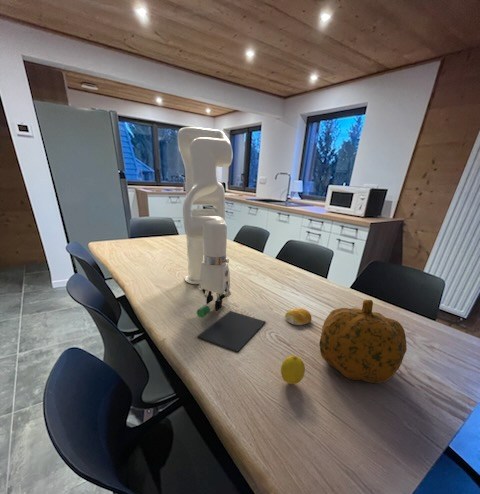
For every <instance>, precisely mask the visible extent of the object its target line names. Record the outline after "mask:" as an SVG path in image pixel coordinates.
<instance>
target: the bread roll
mask: <svg viewBox="0 0 480 494" xmlns="http://www.w3.org/2000/svg"><path fill="white" fill-rule="evenodd" d="M284 318H285V320H286V321H287V322H288V323H289V324H292V325H294V326H303V325H306V324H309V323H311V322H312V314H311V312H310V311H308V310H307V309H305V308H295V309H290V310H288V311H286V312H285V314H284Z"/></svg>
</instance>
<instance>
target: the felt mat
mask: <svg viewBox="0 0 480 494" xmlns="http://www.w3.org/2000/svg"><path fill="white" fill-rule="evenodd" d="M265 324H266V321H265V320H262V319H258V318H256V317H252V316H248V315H245V314H242V313H238V312H235V311H232V310H230V311H228V312H227V313H226V314H224V315H223V316H222V317H220V318H219V319H218V320H217V321H216V322H214V323H213V324H211V325H210V326H209V327H208V328H207V329H204V330H203V332H201V333H200V334H199V335H197V338H198V339H200V340H202V341H205V342H209V343H211V344H214V345H216V346H219V347H222V348H224V349H227V350H230V351H233V352H236V353H238V352H240V351H241V350H242V349H243V347H244V346H245V345H247V343H248V342H249V341H250V340H251V339H252V338H253V337H254V335H255V334H256V333H258V331H259V330H260V329H262V327H263V326H264V325H265Z"/></svg>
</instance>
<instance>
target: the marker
mask: <svg viewBox="0 0 480 494" xmlns="http://www.w3.org/2000/svg"><path fill="white" fill-rule="evenodd" d="M228 298H229V297H225V298H223V299H222V305H223V304H224V303H226V302H227V301H228ZM216 300H217V297H216V298H213V301H211V302H209V303H208V304H205V305H203V306H201V307H200V308H198V309H196V315H197V316H198V318H200V319H203V318H205V317H206V316H207V315H209V314H210V313H211V312H213V311H215V301H216Z"/></svg>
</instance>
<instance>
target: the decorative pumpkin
mask: <svg viewBox="0 0 480 494" xmlns="http://www.w3.org/2000/svg"><path fill="white" fill-rule="evenodd" d="M373 305H374V301H373V300H372V299H364V300H363V301H362V307H361V308H357V307H356V308H354V307H353V308H352V307H350V308H348V307H339V308H336V309H333V310H331V311H330V313H329V314H328V315H327V317H326V318H325V320H324V321H323V324H322V327H321V335H320V338H319V343H318V344H319V352H320V355H321V357H322V359H323V360H324V361H325V362H326V363H327V364H329V365H330V366H331V367H333V368H334V369H335V370H337V371H339V372H340V374H342V375H343V376H344V377H345V378H347V379H349V380H352V381H353V380H354V381H356V380H357V381H364V382H367V383H371V384H380V383H384V382H387V381H388V380H390V379H391V378H392V377H393V376H394V375H395V374H396V373H397V371H398V370H399V369H400V368H401V365H402V362H403V360H404V357H405V354H406V352H407V347H408V346H407V336H406V332H405V329H404V327H403V325H402V324H401V323H400V322H399V321H398V320H395V319H392V318H389V317H386V316H384V315H383V314H381V313H379V312H375V311H373Z"/></svg>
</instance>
